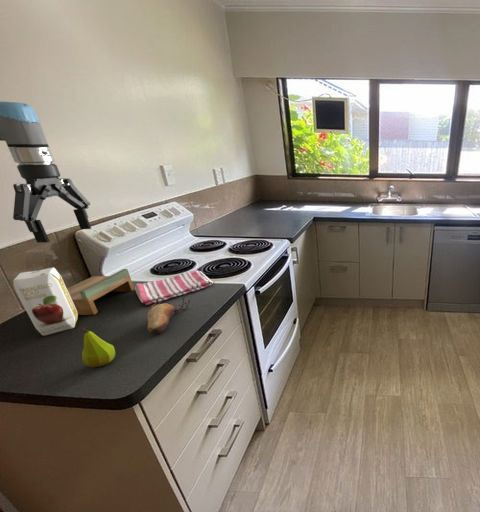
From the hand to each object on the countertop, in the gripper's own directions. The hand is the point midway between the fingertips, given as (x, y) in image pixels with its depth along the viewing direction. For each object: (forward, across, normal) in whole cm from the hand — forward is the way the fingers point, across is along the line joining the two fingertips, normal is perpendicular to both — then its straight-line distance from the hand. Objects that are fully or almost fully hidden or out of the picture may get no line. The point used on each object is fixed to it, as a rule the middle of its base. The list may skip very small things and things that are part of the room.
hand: (66, 235), depth 89 cm
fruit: (+28, -27, -23) cm, 45 cm away
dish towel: (+28, +16, -17) cm, 36 cm away
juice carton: (+28, -9, +4) cm, 30 cm away
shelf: (+28, +7, +6) cm, 29 cm away
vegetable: (+28, -9, -29) cm, 41 cm away
